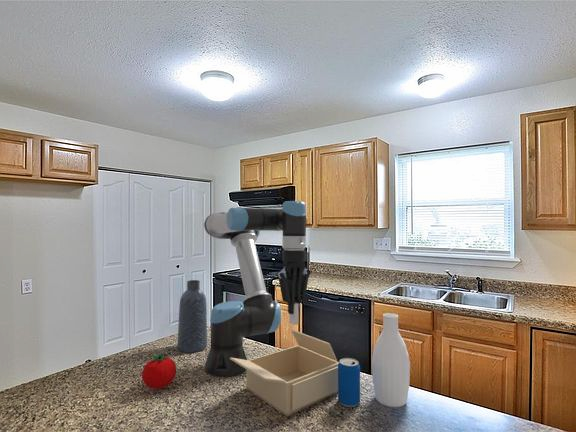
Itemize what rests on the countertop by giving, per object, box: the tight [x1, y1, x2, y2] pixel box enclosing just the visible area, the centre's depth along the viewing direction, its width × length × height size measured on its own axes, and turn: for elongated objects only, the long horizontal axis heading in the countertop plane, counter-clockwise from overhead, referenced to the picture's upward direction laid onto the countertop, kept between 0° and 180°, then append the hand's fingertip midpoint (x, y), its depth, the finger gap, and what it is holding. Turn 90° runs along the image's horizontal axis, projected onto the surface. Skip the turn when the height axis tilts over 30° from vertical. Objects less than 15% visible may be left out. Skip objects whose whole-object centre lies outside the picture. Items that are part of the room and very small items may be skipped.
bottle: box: [371, 312, 411, 408], centre depth 102 cm, size 11×11×25 cm
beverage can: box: [337, 357, 361, 408], centre depth 100 cm, size 6×6×12 cm
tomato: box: [141, 353, 177, 390], centre depth 108 cm, size 10×10×10 cm
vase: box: [176, 279, 208, 353], centre depth 143 cm, size 12×12×28 cm
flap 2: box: [290, 329, 338, 362], centre depth 112 cm, size 18×1×7 cm, turn 40°
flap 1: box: [230, 357, 284, 383], centre depth 97 cm, size 18×1×7 cm
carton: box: [246, 344, 340, 418], centre depth 107 cm, size 22×22×9 cm
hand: (293, 323), depth 107 cm, fingers closed
